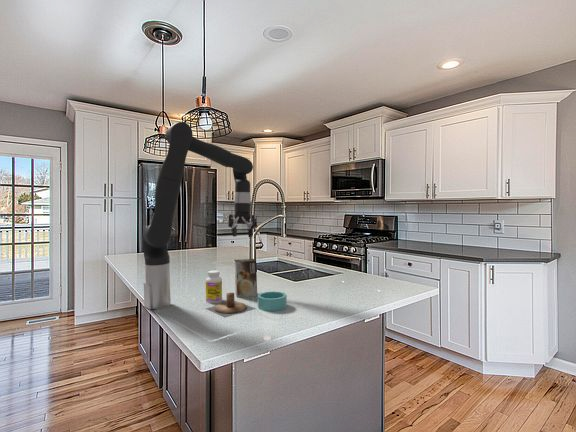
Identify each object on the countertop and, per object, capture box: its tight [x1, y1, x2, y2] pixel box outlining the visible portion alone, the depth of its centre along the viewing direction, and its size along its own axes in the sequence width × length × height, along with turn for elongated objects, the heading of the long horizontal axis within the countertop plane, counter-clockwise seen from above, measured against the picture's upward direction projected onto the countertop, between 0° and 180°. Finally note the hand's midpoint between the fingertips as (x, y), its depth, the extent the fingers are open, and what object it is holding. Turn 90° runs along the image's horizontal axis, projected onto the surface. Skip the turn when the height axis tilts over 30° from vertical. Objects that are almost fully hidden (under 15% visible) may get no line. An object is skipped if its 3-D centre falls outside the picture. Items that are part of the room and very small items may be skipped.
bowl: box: [257, 290, 288, 312], centre depth 128 cm, size 11×11×5 cm
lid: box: [214, 292, 247, 314], centre depth 126 cm, size 12×12×6 cm
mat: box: [204, 300, 256, 318], centre depth 126 cm, size 14×14×1 cm
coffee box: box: [234, 258, 258, 298], centre depth 146 cm, size 9×6×16 cm
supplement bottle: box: [205, 269, 223, 304], centre depth 137 cm, size 7×7×13 cm
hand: (242, 236), depth 153 cm, fingers open, 8 cm apart
